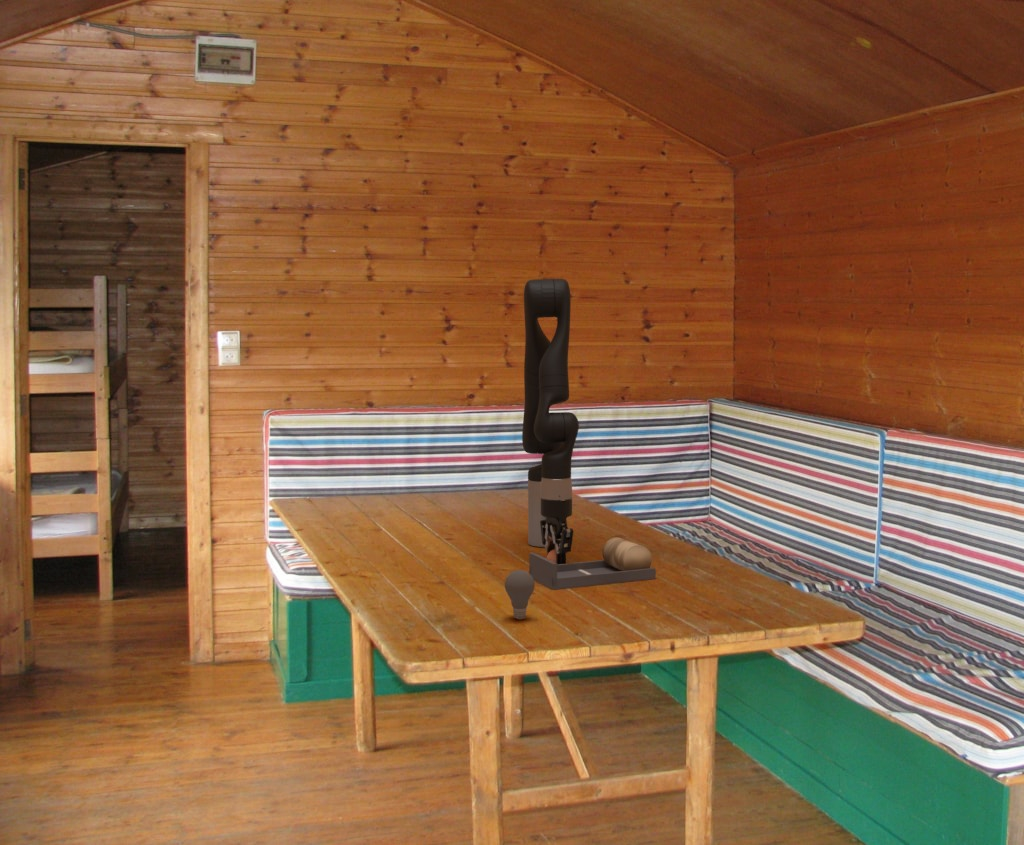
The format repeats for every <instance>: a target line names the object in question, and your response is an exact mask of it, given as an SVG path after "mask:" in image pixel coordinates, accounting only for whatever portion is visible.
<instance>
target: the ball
mask: <svg viewBox="0 0 1024 845" xmlns="http://www.w3.org/2000/svg"><path fill="white" fill-rule="evenodd" d="M556 554H557V552H556V548H555V549H554V550H551V551H550V552H549V553H548V555H547V554H546V557H545V558H546V559H548V560H550V561H553V562H555V563H556Z"/></svg>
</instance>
